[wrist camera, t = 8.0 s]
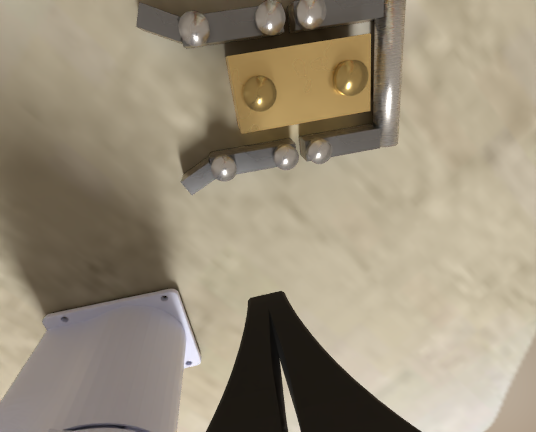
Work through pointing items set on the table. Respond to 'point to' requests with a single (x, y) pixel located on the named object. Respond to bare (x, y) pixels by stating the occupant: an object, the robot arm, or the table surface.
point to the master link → (301, 83)
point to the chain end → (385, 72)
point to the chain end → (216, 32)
